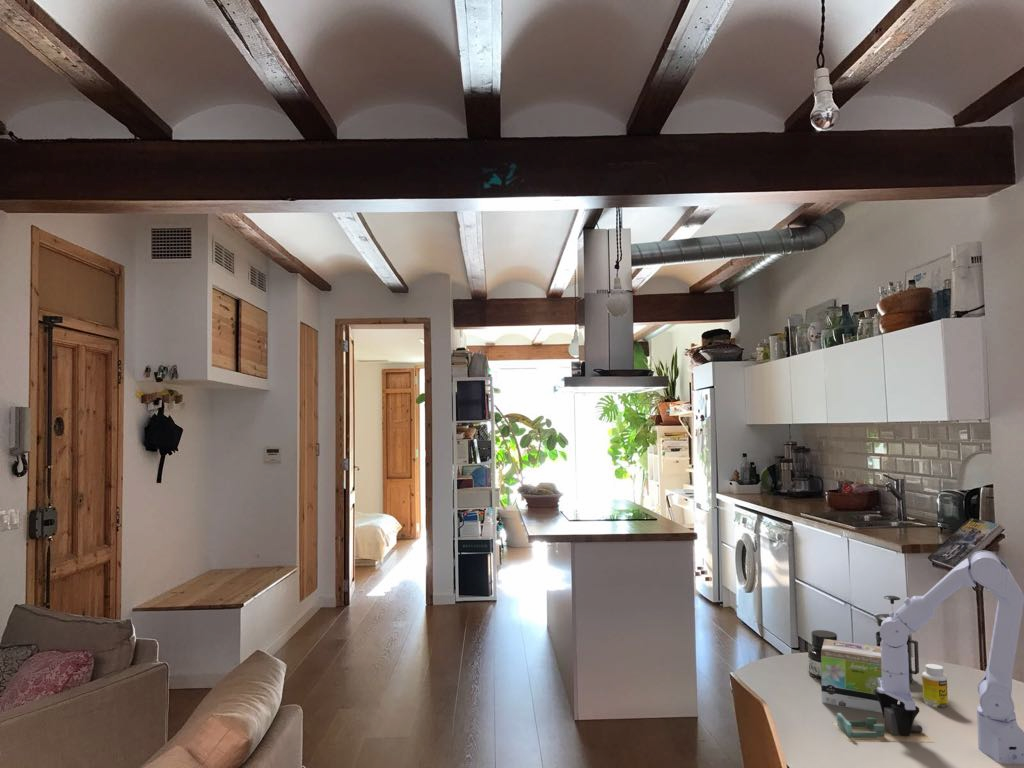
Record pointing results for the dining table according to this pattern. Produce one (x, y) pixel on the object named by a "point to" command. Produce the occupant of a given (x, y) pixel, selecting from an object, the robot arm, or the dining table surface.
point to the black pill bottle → (818, 651)
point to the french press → (878, 638)
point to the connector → (892, 723)
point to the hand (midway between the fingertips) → (896, 728)
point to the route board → (873, 731)
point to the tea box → (850, 674)
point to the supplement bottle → (934, 686)
